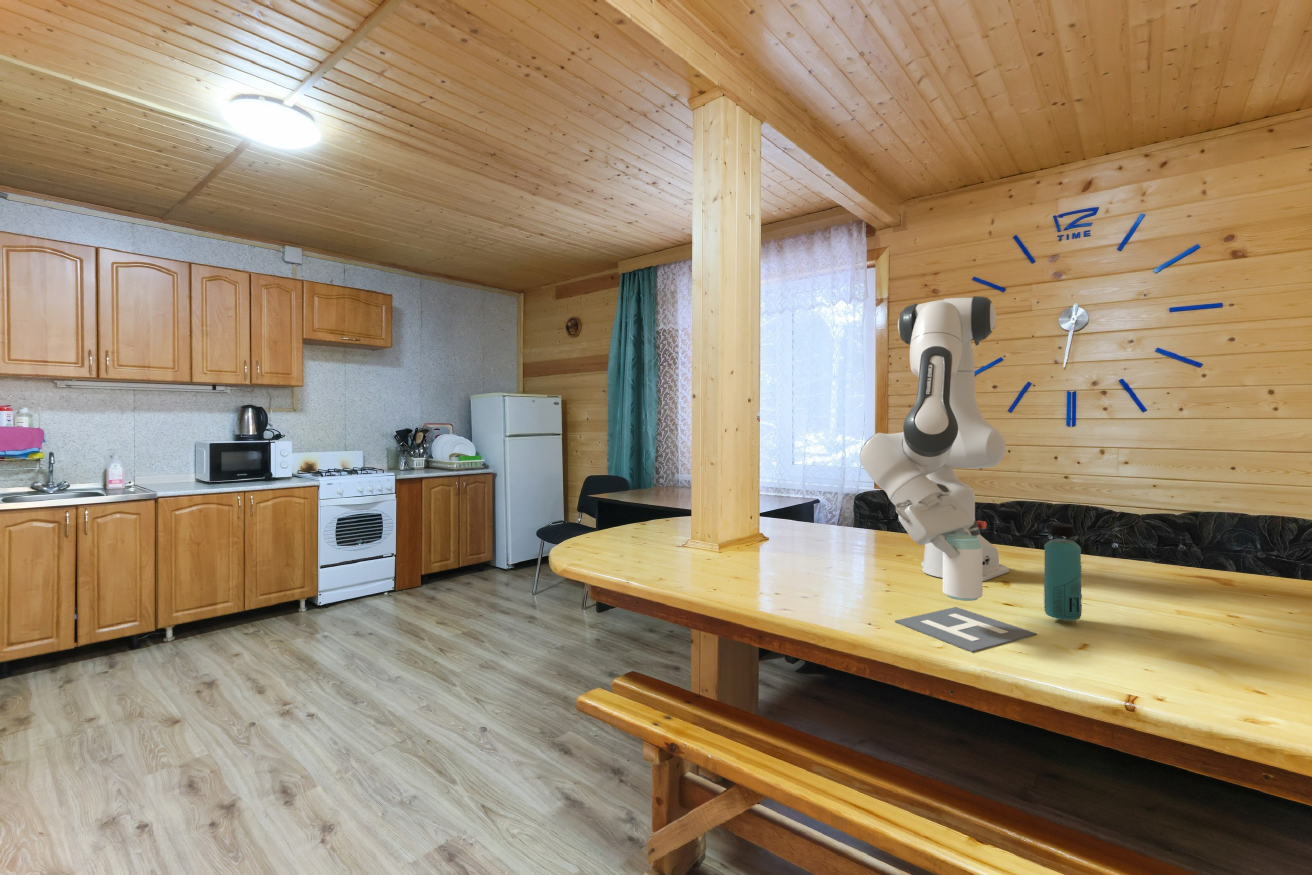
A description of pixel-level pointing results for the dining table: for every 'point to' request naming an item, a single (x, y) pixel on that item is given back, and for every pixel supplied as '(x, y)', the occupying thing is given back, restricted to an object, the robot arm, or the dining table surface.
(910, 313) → the robot arm
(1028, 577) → the dining table surface
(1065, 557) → the beverage bottle
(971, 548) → the can
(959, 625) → the letter mat
